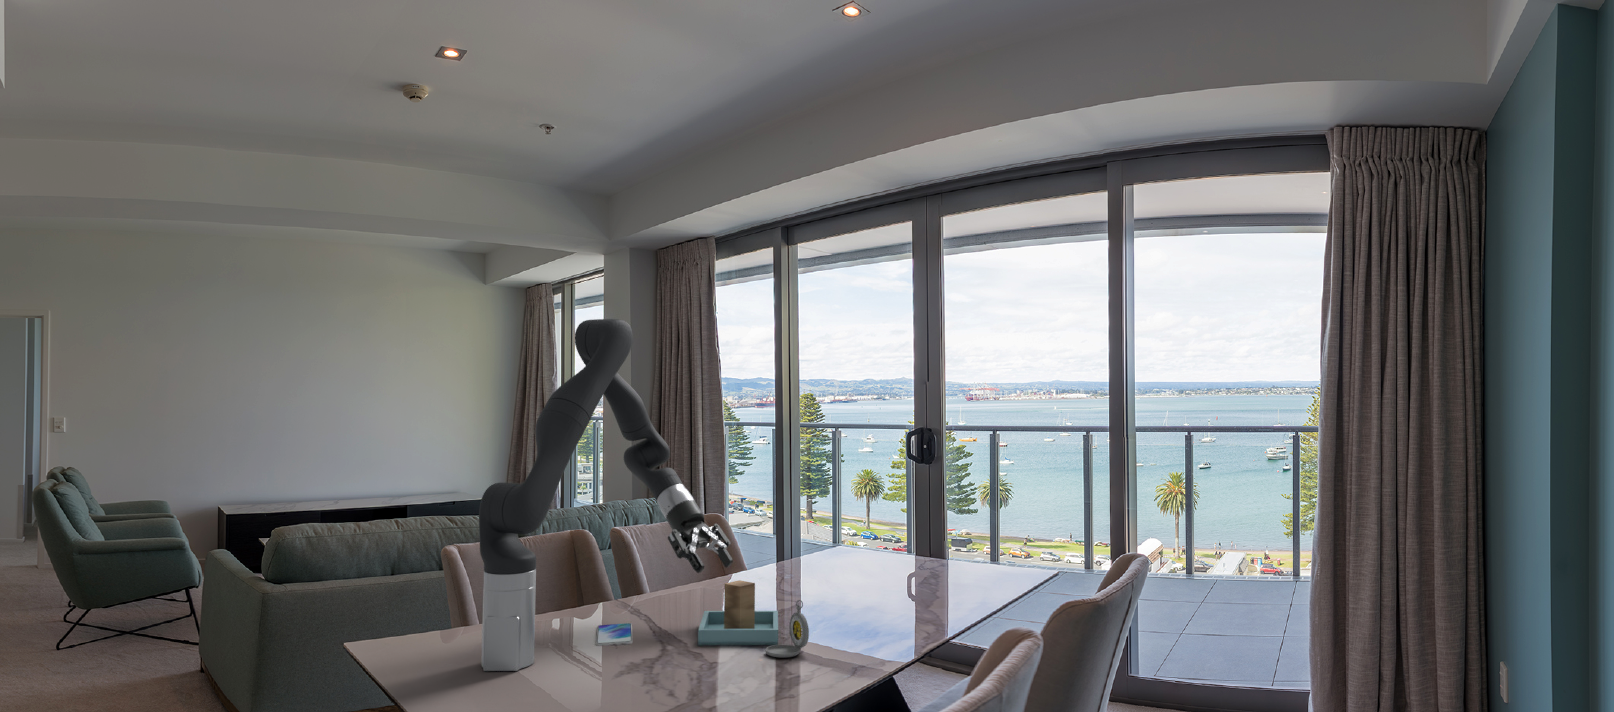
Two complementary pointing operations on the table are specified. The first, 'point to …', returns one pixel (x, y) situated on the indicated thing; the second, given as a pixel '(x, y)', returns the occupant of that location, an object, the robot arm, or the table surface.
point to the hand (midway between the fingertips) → (715, 567)
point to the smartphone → (614, 634)
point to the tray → (738, 630)
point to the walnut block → (739, 605)
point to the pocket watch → (792, 636)
